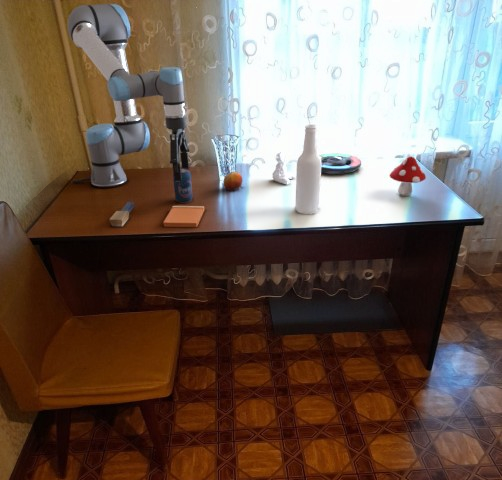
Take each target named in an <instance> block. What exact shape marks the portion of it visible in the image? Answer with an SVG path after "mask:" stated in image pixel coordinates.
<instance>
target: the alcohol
mask: <svg viewBox="0 0 502 480" xmlns="http://www.w3.org/2000/svg"><path fill="white" fill-rule="evenodd" d="M304 128H305V129H304V139H303V140H304V141H303V150H302V153H301V154H300V155H299V157H298V158H297V162H296V179H295V180H296V181H295V210H296V212H298V213H299V214H302V215H303V214H304V215H311V214H312V215H313V214H315V213H317V212H318V211H319V209H320V194H321V178H322V172H321V165H322V163H321V159H320V157H319V155H320V154H319V153H318V151H317V150H318V149H317V131H318V130H317V128H318V126H317V125H316V124H306V125H305V127H304Z"/></svg>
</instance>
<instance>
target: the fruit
mask: <svg viewBox="0 0 502 480" xmlns="http://www.w3.org/2000/svg"><path fill="white" fill-rule="evenodd" d="M242 185H243V176H242V175H241V174H240V173H239V172H238V171H232V172H230V173H228V174H226V175H225V176H224V178H223V186H224V188H225V189H226V190H227V191H231V192H234V191H240V188H243V187H242Z"/></svg>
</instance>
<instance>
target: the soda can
mask: <svg viewBox="0 0 502 480" xmlns="http://www.w3.org/2000/svg"><path fill="white" fill-rule="evenodd" d="M181 176H182V181H174V173H172V181H173V189H174V198H175V199H176V201H177V203H181V204H187V203H190V202H191V201H192V200H193V198H194V196H193V195H194V194H193V185H192V175H191V172H190V169H189V170H188V169H187V168H182V167H181Z"/></svg>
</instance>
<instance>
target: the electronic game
mask: <svg viewBox="0 0 502 480" xmlns="http://www.w3.org/2000/svg"><path fill="white" fill-rule="evenodd" d="M318 155H319V157H320V159H321V163H322V165H321V173H324V174H328V175H329V174H331V175H344V174H349V173H352V172H355V171H356V170H358V169H359V168H360V167H361V166H362V161H361V160H360V159H359V158H358V157H357V156H354V155H350V154H346V153H345V154H344V153H323V154H318Z"/></svg>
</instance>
